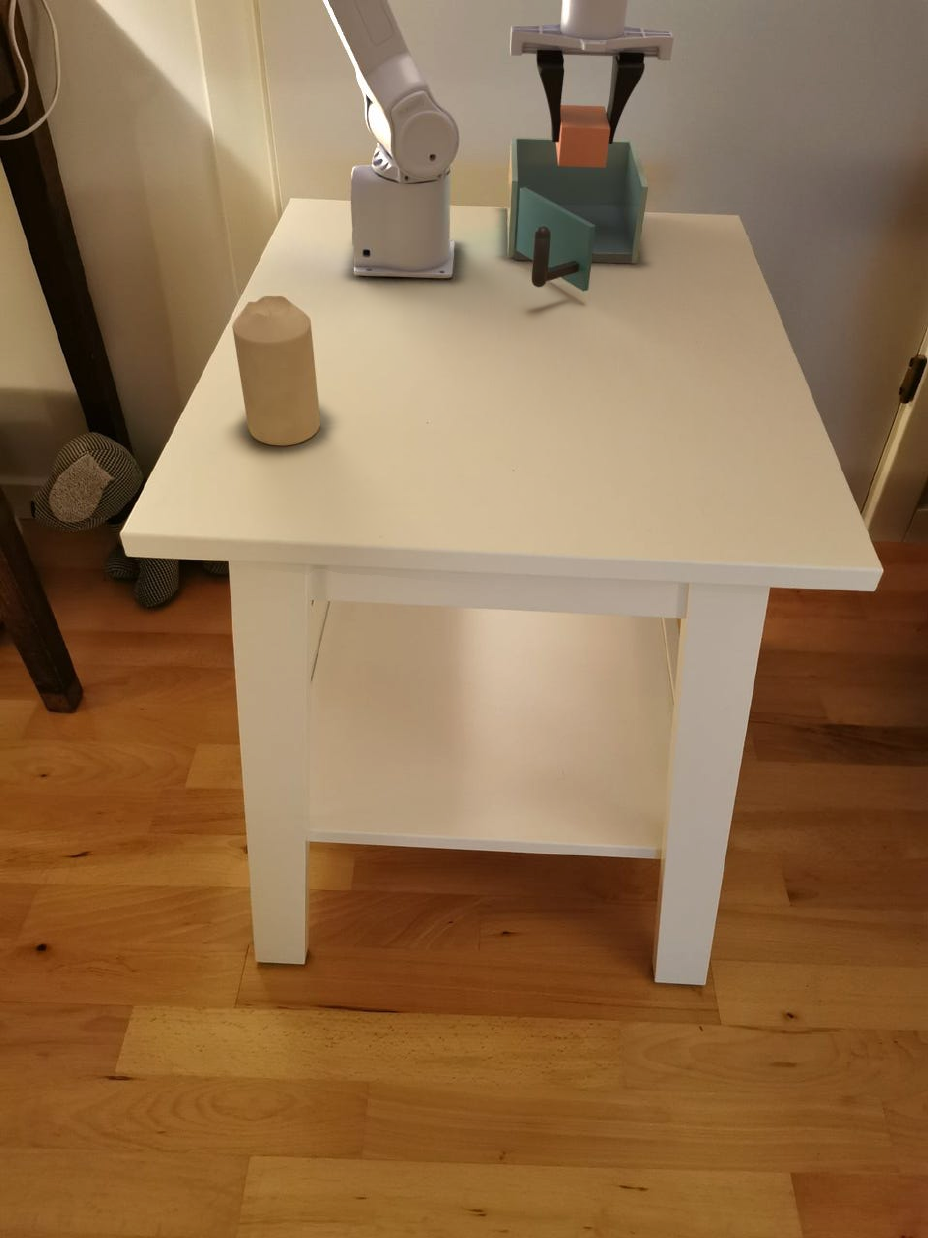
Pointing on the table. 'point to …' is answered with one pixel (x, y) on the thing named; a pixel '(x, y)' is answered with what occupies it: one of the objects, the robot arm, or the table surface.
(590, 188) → the shower
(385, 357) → the table surface
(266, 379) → the candle
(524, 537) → the table surface
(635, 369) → the table surface
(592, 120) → the soap
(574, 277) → the shower door
